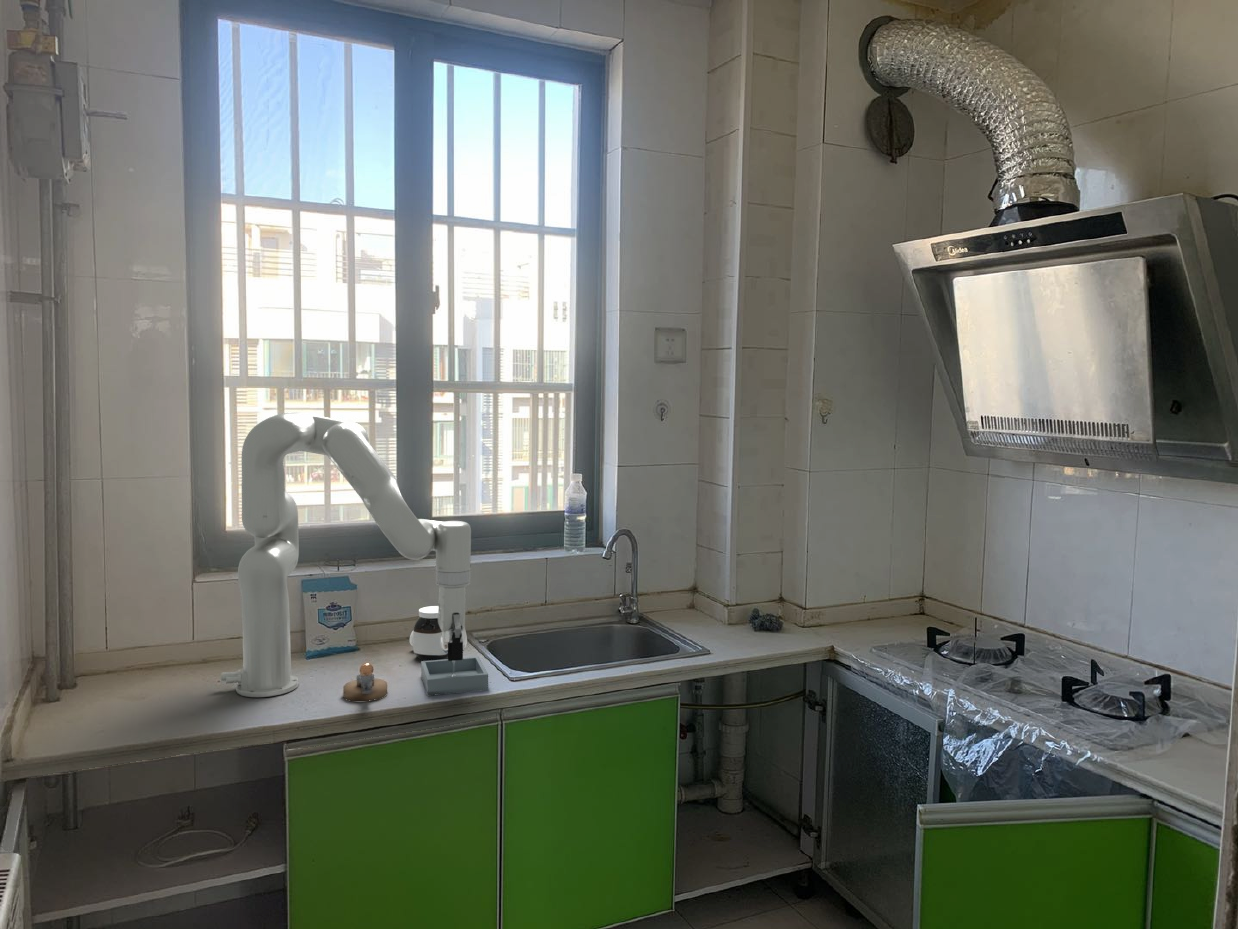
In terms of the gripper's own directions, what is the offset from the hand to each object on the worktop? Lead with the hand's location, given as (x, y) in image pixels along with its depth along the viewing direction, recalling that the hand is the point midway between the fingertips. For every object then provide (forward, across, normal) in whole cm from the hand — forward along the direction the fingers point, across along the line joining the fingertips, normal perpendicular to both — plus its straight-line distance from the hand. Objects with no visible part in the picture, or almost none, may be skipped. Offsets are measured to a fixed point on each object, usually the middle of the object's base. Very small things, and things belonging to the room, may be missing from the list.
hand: (452, 653), depth 193 cm
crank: (+5, +5, -19) cm, 20 cm away
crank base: (+7, +2, -18) cm, 20 cm away
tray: (+7, 0, 0) cm, 7 cm away
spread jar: (+7, -23, -2) cm, 24 cm away
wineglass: (+6, 0, 0) cm, 6 cm away
